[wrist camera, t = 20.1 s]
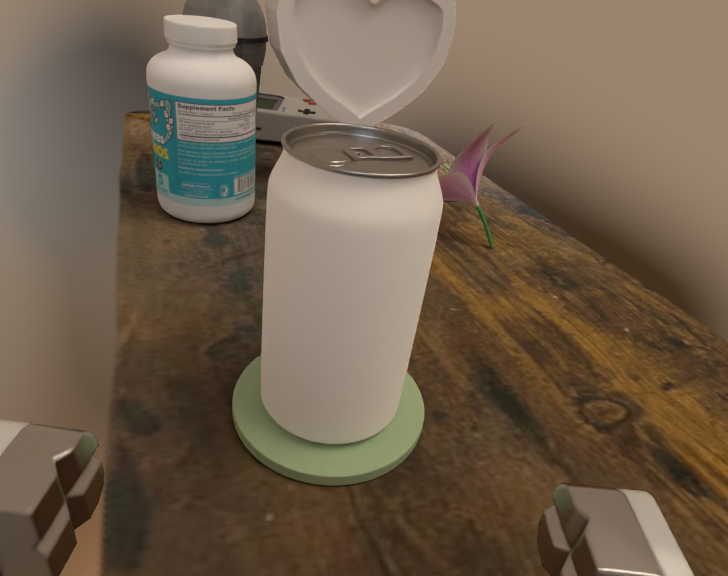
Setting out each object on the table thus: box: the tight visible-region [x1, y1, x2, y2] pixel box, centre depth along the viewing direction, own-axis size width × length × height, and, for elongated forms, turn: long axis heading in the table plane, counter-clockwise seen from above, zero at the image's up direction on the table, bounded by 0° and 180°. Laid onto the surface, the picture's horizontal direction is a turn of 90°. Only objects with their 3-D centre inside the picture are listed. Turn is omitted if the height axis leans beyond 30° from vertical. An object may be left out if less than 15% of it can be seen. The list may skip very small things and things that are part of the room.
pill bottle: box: [146, 15, 257, 223], centre depth 38 cm, size 8×7×14 cm
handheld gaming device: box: [256, 92, 340, 143], centre depth 59 cm, size 9×15×4 cm, turn 91°
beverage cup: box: [182, 0, 268, 114], centre depth 44 cm, size 7×7×20 cm
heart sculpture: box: [266, 0, 457, 126], centre depth 45 cm, size 16×5×18 cm, turn 113°
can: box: [261, 123, 443, 445], centre depth 21 cm, size 6×6×12 cm
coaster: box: [232, 355, 424, 486], centre depth 24 cm, size 9×9×1 cm
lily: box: [439, 125, 524, 248], centre depth 41 cm, size 12×12×10 cm
